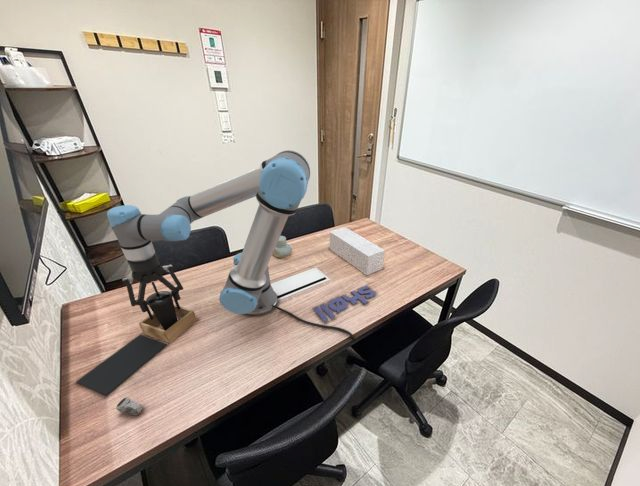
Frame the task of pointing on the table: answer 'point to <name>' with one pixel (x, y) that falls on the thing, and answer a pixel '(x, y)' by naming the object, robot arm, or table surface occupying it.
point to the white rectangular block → (357, 250)
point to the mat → (121, 365)
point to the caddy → (172, 332)
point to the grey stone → (128, 402)
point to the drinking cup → (162, 307)
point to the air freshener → (282, 248)
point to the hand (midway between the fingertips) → (165, 312)
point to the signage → (344, 303)
